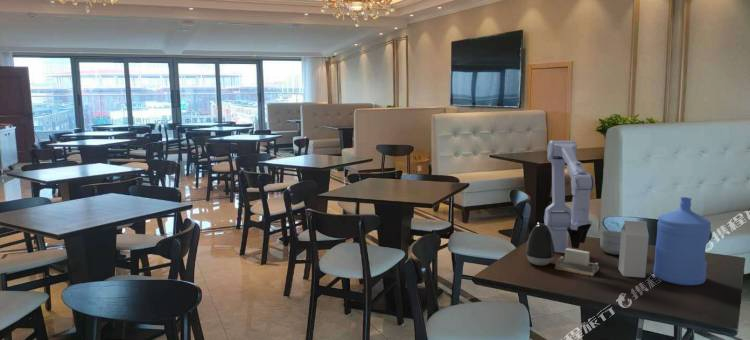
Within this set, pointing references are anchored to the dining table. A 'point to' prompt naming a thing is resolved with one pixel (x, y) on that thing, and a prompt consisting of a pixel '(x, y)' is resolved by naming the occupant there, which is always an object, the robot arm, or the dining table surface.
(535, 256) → the egg shaped speaker
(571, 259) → the door panel
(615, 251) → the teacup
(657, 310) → the dining table surface
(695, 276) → the water jug
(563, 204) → the robot arm
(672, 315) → the dining table surface
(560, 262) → the door frame
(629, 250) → the milk carton
